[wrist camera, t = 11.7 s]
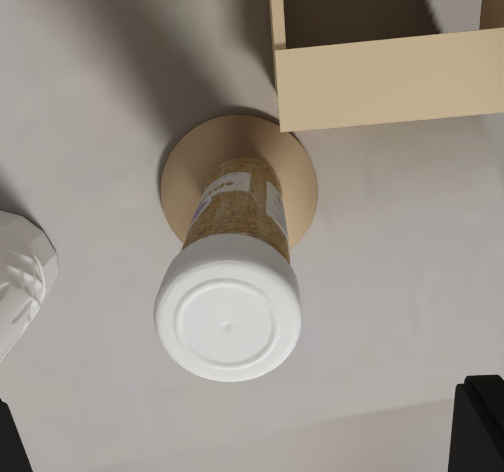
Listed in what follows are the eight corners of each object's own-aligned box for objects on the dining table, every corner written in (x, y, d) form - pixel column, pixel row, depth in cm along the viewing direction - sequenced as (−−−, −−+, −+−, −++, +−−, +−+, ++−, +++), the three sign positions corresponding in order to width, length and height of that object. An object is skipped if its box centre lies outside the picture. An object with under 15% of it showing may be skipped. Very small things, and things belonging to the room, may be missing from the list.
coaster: (313, 107, 24) (314, 108, 24) (319, 257, 28) (320, 261, 27) (149, 122, 25) (147, 123, 24) (175, 268, 28) (173, 272, 28)
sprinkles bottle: (212, 147, 25) (163, 241, 12) (292, 166, 25) (322, 276, 13) (197, 223, 27) (140, 372, 14) (272, 240, 27) (282, 400, 14)
